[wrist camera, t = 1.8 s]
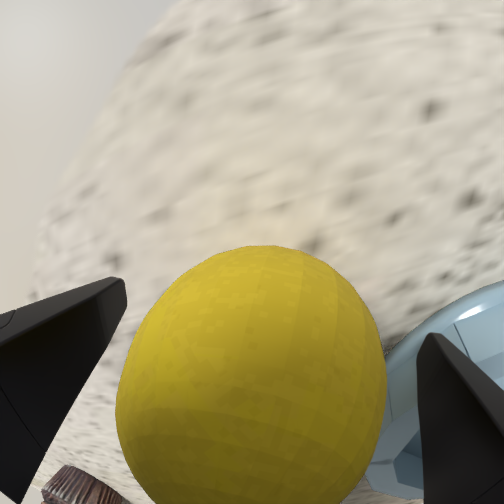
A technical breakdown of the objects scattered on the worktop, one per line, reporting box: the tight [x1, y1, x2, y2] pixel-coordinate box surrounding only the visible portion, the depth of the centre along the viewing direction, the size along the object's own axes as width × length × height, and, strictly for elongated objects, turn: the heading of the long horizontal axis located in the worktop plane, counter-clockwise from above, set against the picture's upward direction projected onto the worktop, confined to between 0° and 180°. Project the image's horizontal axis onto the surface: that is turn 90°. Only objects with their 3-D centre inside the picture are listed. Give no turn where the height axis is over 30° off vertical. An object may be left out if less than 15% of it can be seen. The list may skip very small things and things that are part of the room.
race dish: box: [365, 280, 504, 500], centre depth 9 cm, size 12×12×3 cm
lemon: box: [115, 246, 387, 504], centre depth 7 cm, size 6×6×8 cm
